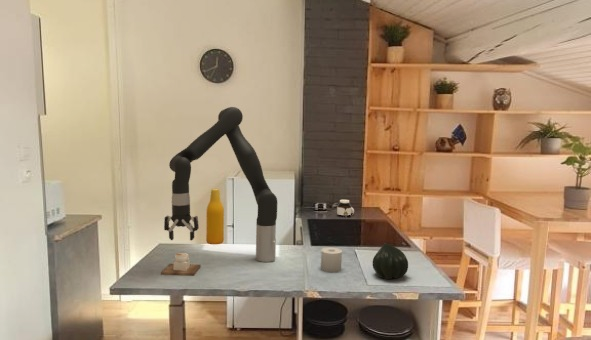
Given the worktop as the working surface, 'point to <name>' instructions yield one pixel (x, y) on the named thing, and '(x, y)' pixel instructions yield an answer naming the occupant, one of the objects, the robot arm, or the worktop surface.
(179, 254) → the knob
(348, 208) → the spread jar
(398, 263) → the squash
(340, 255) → the toilet tissue
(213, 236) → the beer bottle
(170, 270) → the plate
